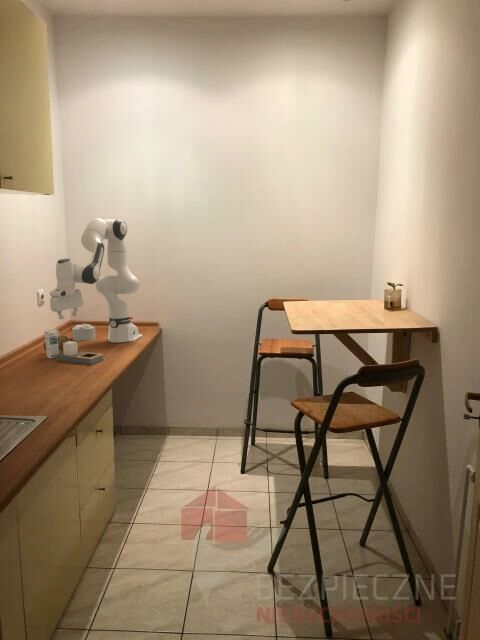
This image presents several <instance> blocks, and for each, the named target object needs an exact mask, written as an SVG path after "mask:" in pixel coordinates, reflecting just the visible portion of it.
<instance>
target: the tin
mask: <svg viewBox="0 0 480 640" xmlns="http://www.w3.org/2000/svg"><path fill="white" fill-rule="evenodd" d="M59 341H60V352H64V350H63V343H65V342H68V341H70V339H69V338H68V336H66V335H59ZM43 349H44V351H45V352H46V343H45V341H44V342H43Z"/></svg>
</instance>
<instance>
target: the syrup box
mask: <svg viewBox="0 0 480 640" xmlns="http://www.w3.org/2000/svg"><path fill="white" fill-rule="evenodd" d="M43 332H44V342H45V343H46V351H45V352H46V357H47V358H48V359H57V355H58V354H61V353H62V351H60V341H59V336H60V331H59V330H58V329H47V330H44V331H43Z"/></svg>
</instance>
